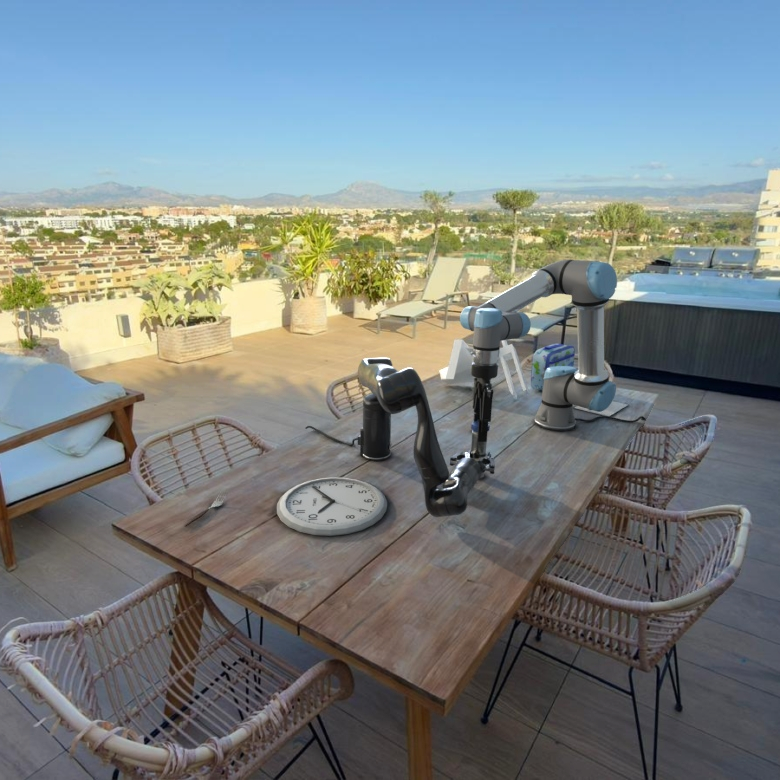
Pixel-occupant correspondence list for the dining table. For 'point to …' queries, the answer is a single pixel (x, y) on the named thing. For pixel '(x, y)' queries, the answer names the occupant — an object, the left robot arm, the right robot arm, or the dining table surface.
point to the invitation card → (609, 411)
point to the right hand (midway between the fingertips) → (479, 437)
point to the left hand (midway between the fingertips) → (480, 453)
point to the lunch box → (550, 361)
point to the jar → (477, 448)
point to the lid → (476, 426)
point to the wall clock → (331, 506)
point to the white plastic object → (463, 362)
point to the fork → (215, 504)
